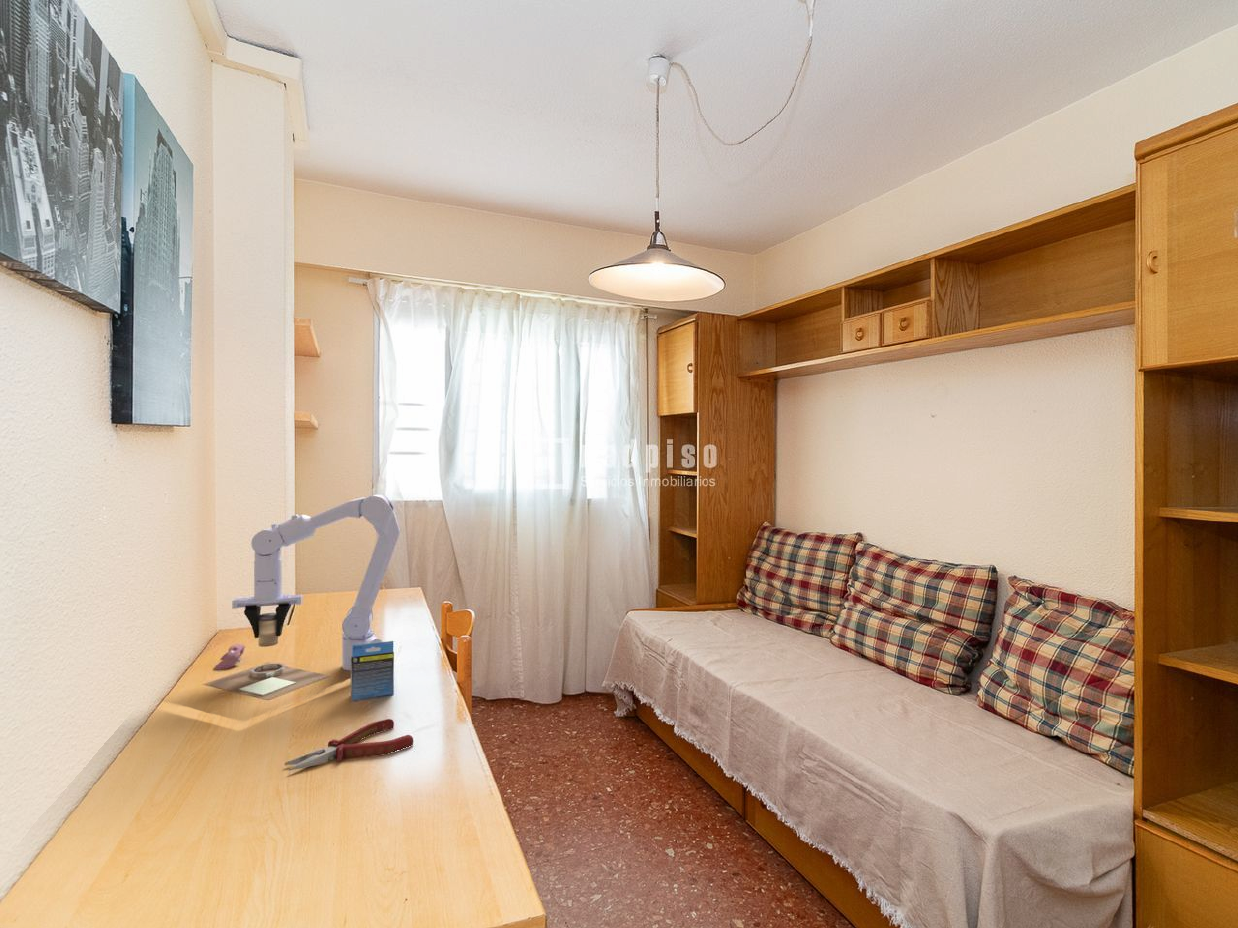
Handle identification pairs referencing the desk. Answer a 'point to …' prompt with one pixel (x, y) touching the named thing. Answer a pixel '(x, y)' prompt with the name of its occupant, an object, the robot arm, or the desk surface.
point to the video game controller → (231, 657)
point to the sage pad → (267, 686)
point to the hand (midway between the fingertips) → (268, 636)
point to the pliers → (354, 746)
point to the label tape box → (372, 670)
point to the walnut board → (245, 678)
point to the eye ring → (256, 670)
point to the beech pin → (267, 629)
